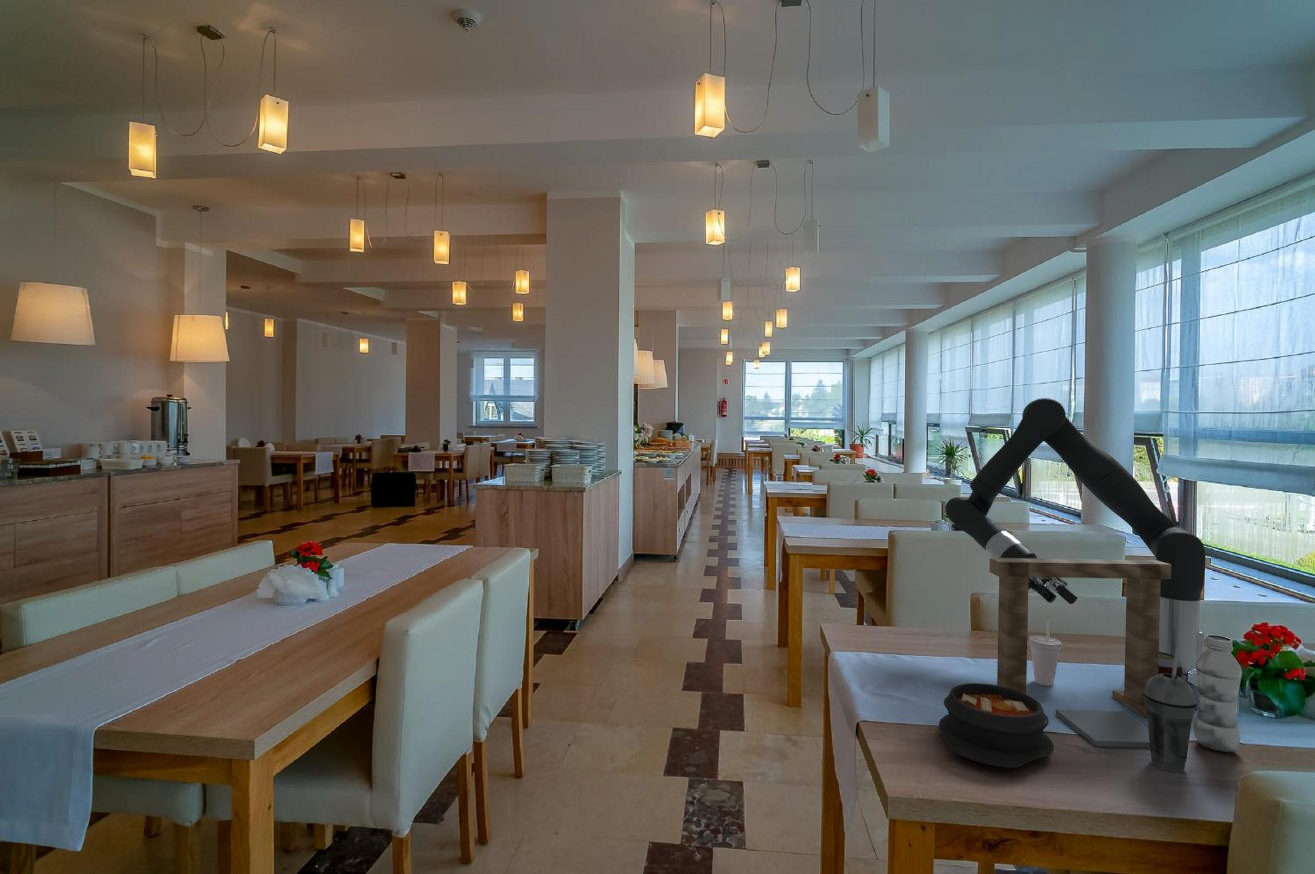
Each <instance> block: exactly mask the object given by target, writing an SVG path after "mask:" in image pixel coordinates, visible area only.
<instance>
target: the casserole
mask: <svg viewBox="0 0 1315 874" xmlns="http://www.w3.org/2000/svg"><path fill="white" fill-rule="evenodd" d="M943 706H944V708H945V709H946V711H947V714H945V715H944V716H943V717H942V718H940V720H939V722H938V728H939V730H940V732H941V734H942V735H943V738H944V739H943V741H944V745H945V747H946V748H947V749H948V750H949V751H951V752H952V753H954V754H957V755H958V756H961V757H963V758H965V759H968V760H970V761H974V762H977V763H980V764H983V765H988V766H993V767H998V768H1005V769H1016V768H1020V767H1021V766H1024V765H1026V764H1028V763H1030V762H1033V761H1036V760H1039V759H1043V758H1046V757H1048V756H1051V754H1052V753H1053V751H1054V746H1055V745H1054V743H1053V741H1052V740H1051V739H1050V738H1049V736H1048V735H1047V734H1046V733H1045V732H1044V730H1045V729H1046V728H1047V727H1048V726H1049V724H1050V723H1049V722H1050V720H1049V717H1048V716H1047V714H1045V712H1044V709H1043V707H1042V704H1041V703H1040V702H1039V701H1038V700H1037V699H1035V698H1034V697H1032V696H1030V695H1028V694H1027V693H1026V694H1024V693H1022V692H1019V691H1016V690H1013V689H1010V688H1006V687H1002V686H997V684H996V685H995V684H991V683H990V684H988V683H980V682H979V683H976V682H975V683H964V684H963V683H962V684H958V685H955V686H954V687H952V688H951V689H950V691H949V694H948V696H946V697H945V698H944V700H943Z"/></svg>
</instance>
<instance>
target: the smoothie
mask: <svg viewBox="0 0 1315 874" xmlns="http://www.w3.org/2000/svg"><path fill="white" fill-rule="evenodd" d="M1028 643H1029V644H1030V651H1031V659H1032V667H1033V668H1032V669H1033V675H1034V676H1033V677H1034V678H1033V679H1034V682H1035V683H1036V684H1038V685H1041V686H1045V687H1046V686H1047V687H1051V686H1054V684H1055V678H1056V672H1057V667H1058V661H1059V656H1060V649H1061V648H1062V641H1061V640H1059V639H1058V638H1054V637H1052V636H1051V637H1050V620H1046V635H1030V636H1029V637H1028Z"/></svg>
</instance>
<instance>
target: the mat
mask: <svg viewBox="0 0 1315 874" xmlns="http://www.w3.org/2000/svg"><path fill="white" fill-rule="evenodd" d="M1055 715H1056V716H1057V717H1059V718H1060V719H1061V720H1062V721H1063V722H1064V723H1066V724H1067V725H1069V727H1071V728H1072V729H1074V730H1075V731H1076V732H1077V733H1078V734H1079V735H1081V736H1082V737H1083V738H1085V739H1086V740H1087V741H1088V742H1090V743H1091V744H1092V745H1093V746H1094V747H1110V748H1145V749H1147V748H1149V749H1150V743H1149V730H1148V726H1146V725H1145V724H1143V723H1141V722H1140V721H1138V720H1137V719H1135V718H1133V717H1132V716H1131V715H1129V714H1128V713H1126V712H1125V711H1123V710H1095V709H1094V710H1093V709H1062V708H1061V709H1057V708H1056V709H1055Z"/></svg>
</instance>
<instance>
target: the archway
mask: <svg viewBox="0 0 1315 874" xmlns="http://www.w3.org/2000/svg"><path fill="white" fill-rule="evenodd" d="M989 573H991V574H993V575H994V576H996V577H998V610H997V611H998V618H997V619H998V621H997V622H998V623H997V625H998V627H997V663H996V665H997V668H996V670H997V672H996V674H997V677H996V685H997V686H1002V687H1006V688H1010V689H1013V690H1016V691H1019V692H1022V693H1024V694H1026V695H1027V682H1028V681H1027V679H1028V678H1027V675H1028V674H1027V672H1028V671H1027V669H1028V630H1029V629H1028V626H1029V625H1028V624H1029V623H1028V622H1029V616H1028V615H1029V589H1028V583H1029V577H1057V578H1061V579H1063V578H1064V579H1065V578H1067V579H1071V578H1072V579H1121V580H1122V579H1125V580H1126V596H1125V597H1126V598H1125V599H1126V600H1125V601H1126V602H1125V603H1126V606H1125V636H1124V637H1125V638H1124V639H1125V642H1124V645H1125V646H1124V677H1123V678H1124V681H1123V682H1124V686H1123V689H1112V690H1111V691H1112V692H1111V693H1112V694H1111V695H1112V697H1113V699H1115V700H1116V701H1118V702H1120V703H1121V704H1123V705H1125V706H1126V707H1128V708H1129V709H1131V710H1132V711H1134V712H1135V713H1137V714H1138V715H1140V716H1142V717H1143V718H1146V719H1148V717H1147V707H1146V704H1145V699H1144V695H1143V693H1144V690H1145V686H1146V684H1147V682H1148V681H1149V679H1151V678H1152V677H1154V676H1156V675H1158V661H1159V622H1160V583H1161V579H1171V564H1168V563H1164V562H1161V561H1158V560H1156V559H1155V560H1154V559H1153V560H1152V559H1101V558H1100V559H1097V558H1096V559H1095V558H1094V559H1092V558H1091V559H1089V558H1088V559H1087V558H1081V559H1080V558H1037V559H1034V558H992V557H989Z"/></svg>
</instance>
